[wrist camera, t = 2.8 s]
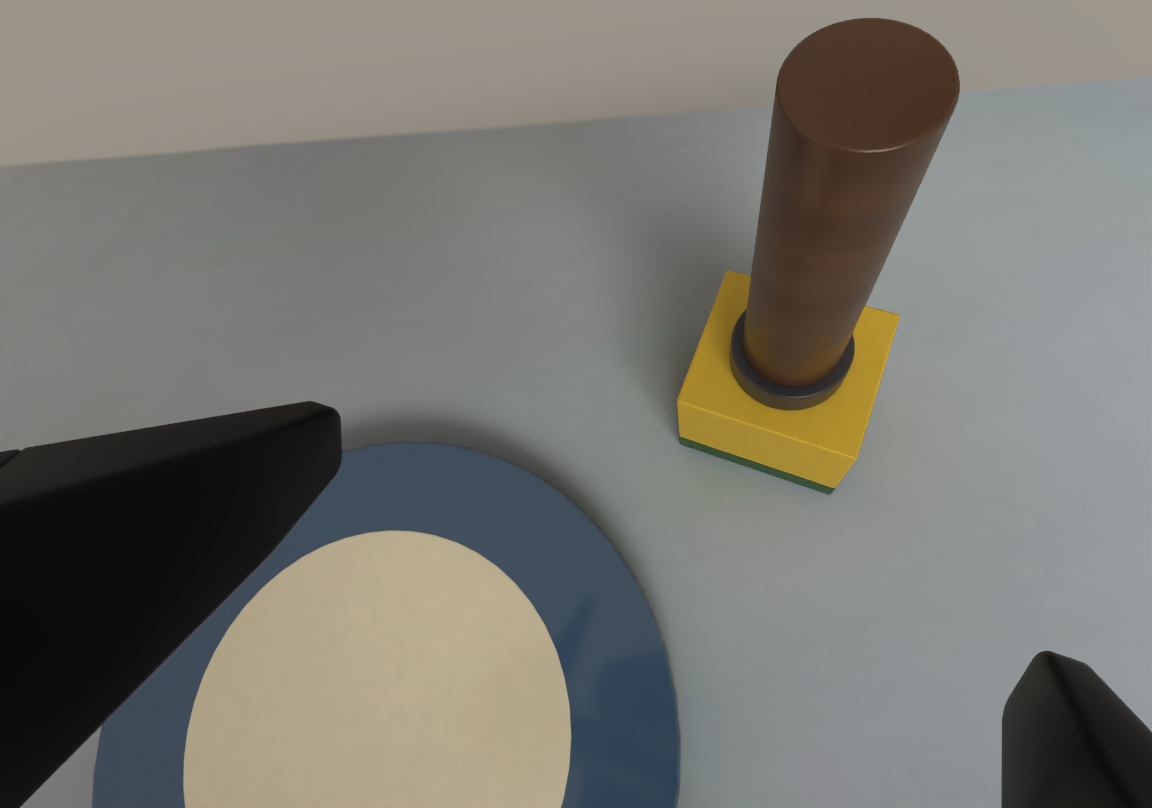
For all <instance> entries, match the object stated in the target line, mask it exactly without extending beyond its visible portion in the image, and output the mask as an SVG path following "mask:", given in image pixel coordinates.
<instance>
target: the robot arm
mask: <svg viewBox="0 0 1152 808" xmlns="http://www.w3.org/2000/svg"><path fill="white" fill-rule="evenodd" d="M341 461H342V443H341V420H340V415H339V413H338V412H337V411H336V410H335V409H334V408H332V407H329V406H326V405H323V404H320V403H317V402H313V401H306V402H300V403H294V404H288V405H282V406H276V407H270V408H264V409H258V410H252V411H246V412H240V413H234V414H228V415H222V416H216V417H210V418H204V419H198V420H192V421H186V422H179V423H173V424H167V425H161V426H155V427H149V428H143V429H137V430H131V431H125V432H119V433H113V434H107V435H101V436H95V437H89V438H83V439H77V440H71V441H65V442H59V443H53V444H46V445H40V446H34V447H28V448H25V449H23V450H22V451H20V450H17V449H16V450H9V451H3V452H0V808H20V807H21V806H22V805H23V804H24V803H25V802H26V801H27V799H28V798H29V797H30V796H31V795H32V794H33V793H34V792H35V791H36V790H37V789H38V788H39V787H40V786H41V785H42V784H43V783H44V782H45V781H46V780H47V779H48V778H49V777H50V776H51V775H52V774H53V773H54V772H55V771H56V770H57V769H58V768H59V767H60V766H61V765H62V764H63V763H64V762H65V761H66V760H67V759H68V758H69V757H70V756H71V755H72V754H73V753H74V752H75V751H76V750H77V749H78V748H79V747H80V746H81V745H82V744H83V743H84V742H85V741H86V740H87V739H88V738H89V737H90V736H91V735H92V734H93V733H94V732H95V731H96V730H97V729H98V728H99V727H100V726H101V725H102V724H103V723H104V722H105V721H106V720H107V719H108V718H109V717H110V716H111V715H112V714H113V713H114V712H115V711H116V710H117V709H118V708H119V707H120V706H121V705H122V704H123V703H124V702H125V701H126V700H127V699H128V698H129V697H130V696H131V695H132V694H133V693H134V692H135V691H136V690H137V689H138V688H139V687H140V686H141V685H142V684H143V683H144V682H145V681H146V680H147V679H148V678H149V677H150V676H151V675H152V674H153V673H154V672H155V671H156V670H157V669H158V668H159V667H160V666H161V665H162V664H163V663H164V662H165V661H166V660H167V659H168V658H169V657H170V656H171V655H172V654H173V653H174V652H175V651H176V650H177V649H178V648H179V647H180V646H181V645H182V644H183V643H184V642H185V641H186V640H187V639H188V638H189V637H190V636H191V635H192V634H193V633H194V632H195V631H196V630H197V629H198V628H199V627H200V626H201V625H202V624H203V623H204V622H205V621H206V620H207V619H208V618H209V617H210V616H211V615H212V614H213V613H214V612H215V611H216V610H217V608H218V607H219V606H220V605H221V604H222V603H223V602H224V601H225V600H226V599H227V598H228V597H229V596H230V595H231V594H232V593H233V592H234V591H235V590H236V589H237V588H238V587H239V586H240V585H241V584H242V583H243V582H244V581H245V580H246V579H247V578H248V577H249V576H250V575H251V574H252V573H253V572H254V571H255V570H256V569H257V568H258V567H259V566H260V565H261V564H262V563H263V562H264V561H265V560H266V559H267V558H268V557H269V556H270V555H271V554H272V552H273V551H274V550H275V549H276V548H277V547H278V545H279V544H280V543H281V542H282V541H283V540H284V538H285V537H286V536H287V535H288V534H289V532H290V531H291V530H292V529H293V527H294V526H295V525H296V524H297V522H298V521H299V520H300V519H301V518H302V516H303V515H304V514H305V513H306V511H307V510H308V509H309V508H310V506H311V505H312V504H313V503H314V502H315V500H316V499H317V498H318V497H319V495H320V494H321V493H322V492H323V491H324V489H325V488H326V487H327V486H328V484H329V483H330V482H331V481H332V479H333V478H334V477H335V476H336V474H337V472H338V470H339V468H340V466H341ZM1002 808H1152V732H1151V731H1150V730H1149V729H1148V727H1147V726H1146V725H1145V724H1144V723H1143V722H1142V721H1141V720H1140V719H1139V718H1138V717H1137V716H1136V715H1135V714H1134V713H1133V712H1132V711H1131V710H1130V709H1129V708H1128V706H1127V705H1126V704H1125V703H1124V702H1123V701H1122V700H1121V699H1120V698H1119V697H1118V696H1117V695H1116V694H1115V693H1114V692H1113V691H1112V690H1111V689H1110V688H1109V687H1108V685H1107V684H1106V683H1105V682H1104V681H1103V680H1102V679H1101V678H1100V677H1099V676H1098V675H1097V674H1096V673H1095V672H1094V671H1093V670H1092V669H1091V668H1090V667H1089V666H1088V665H1086V664H1085V663H1083V662H1080V661H1078V660H1075V659H1072V658H1069V657H1066V656H1063V655H1060V654H1057V653H1054V652H1051V651H1043V652H1040V653H1038V654H1037V655H1036V656H1035V657H1034V658H1033V659H1032V661H1031V663H1030V664H1029V666H1028V668H1027V669H1026V671H1025V672H1024V674H1023V676H1022V677H1021V679H1020V680H1019V682H1018V684H1017V685H1016V687H1015V688H1014V690H1013V692H1012V693H1011V695H1010V696H1009V698H1008V700H1007V702H1006V705H1005V708H1004V711H1003V717H1002Z"/></svg>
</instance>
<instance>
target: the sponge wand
mask: <svg viewBox="0 0 1152 808" xmlns="http://www.w3.org/2000/svg"><path fill="white" fill-rule="evenodd" d="M959 92H960V82H959V75H958V70H957V67H956V64H955V62H954V60H953V58H952V56H951V55H950V53H949V52H948V51H947V49H946V48H945V47H944V46H943V45H942V44H941V43H940V42H939V41H938V40H937V39H935V38H934V37H933V36H931V35H930V34H928V33H926V32H925V31H923V30H921V29H919V28H917V27H914V26H912V25H909V24H906V23H903V22H899V21H895V20H889V19H881V18H861V19H852V20H846V21H842V22H838V23H835V24H832V25H829V26H827V27H824V28H822V29H820V30H818V31H816V32H814V33H813V34H811V35H810V36H808V37H806V38H805V39H804V40H803V41H801V42H800V43H799V44H798V45H797V46H796V47H795V48H794V49H793V50H792V51H791V53H790V54H789V55H788V57H787V58H786V59H785V61H784V63H783V65H782V67H781V69H780V71H779V75H778V78H777V85H776V92H775V100H774V107H773V115H772V122H771V130H770V137H769V145H768V152H767V160H766V167H765V175H764V182H763V190H762V197H761V205H760V212H759V220H758V227H757V235H756V242H755V250H754V257H753V265H752V272H751V276H749V275H745V274H741V273H738V272H734V271H730V270H728V271H727V272H726V274H725V277H724V279H723V282H722V285H721V287H720V290H719V292H718V295H717V298H716V300H715V303H714V305H713V308H712V310H711V313H710V316H709V318H708V321H707V323H706V326H705V329H704V331H703V334H702V336H701V339H700V341H699V344H698V347H697V349H696V352H695V354H694V357H693V360H692V362H691V365H690V367H689V370H688V372H687V375H686V378H685V380H684V383H683V385H682V388H681V390H680V393H679V396H678V398H677V411H678V423H679V437H680V444H682V445H685V446H688V447H691V448H694V449H697V450H699V451H702V452H705V453H708V454H711V455H714V456H717V457H720V458H723V459H726V460H729V461H732V462H735V463H738V464H741V465H744V466H747V467H750V468H752V469H755V470H758V471H761V472H764V473H767V474H770V475H773V476H776V477H779V478H782V479H785V480H788V481H791V482H794V483H797V484H800V485H803V486H806V487H808V488H811V489H814V490H817V491H820V492H823V493H826V494H831V493H832V492H833V491H834V489H835V488H836V486H837V485H838V484H839V482H840V481H841V480H842V478H843V477H844V476H845V474H846V473H847V472H848V470H849V469H850V467H851V466H852V465H853V463H854V462H855V461H856V459H857V458H858V454H859V451H860V448H861V444H862V441H863V438H864V434H865V431H866V428H867V424H868V421H869V418H870V414H871V411H872V408H873V404H874V401H875V398H876V394H877V391H878V388H879V384H880V381H881V378H882V374H883V371H884V368H885V364H886V361H887V358H888V354H889V351H890V348H891V344H892V341H893V338H894V334H895V331H896V328H897V324H898V321H899V318H900V317H899V315H898V314H894V313H890V312H886V311H883V310H879V309H875V308H871V307H867V306H865V305H866V303H867V300H868V298H869V296H870V294H871V292H872V289H873V287H874V285H875V283H876V281H877V278H878V276H879V274H880V272H881V270H882V267H883V265H884V263H885V261H886V259H887V256H888V254H889V252H890V250H891V248H892V245H893V243H894V241H895V239H896V237H897V234H898V232H899V230H900V228H901V226H902V223H903V221H904V219H905V217H906V215H907V213H908V210H909V208H910V206H911V204H912V202H913V199H914V197H915V195H916V193H917V191H918V188H919V186H920V184H921V182H922V180H923V177H924V175H925V173H926V171H927V169H928V166H929V164H930V162H931V160H932V158H933V155H934V153H935V151H936V149H937V147H938V144H939V142H940V140H941V138H942V136H943V133H944V131H945V129H946V127H947V125H948V122H949V120H950V118H951V116H952V114H953V111H954V109H955V107H956V104H957V102H958V97H959Z"/></svg>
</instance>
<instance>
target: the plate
mask: <svg viewBox="0 0 1152 808" xmlns="http://www.w3.org/2000/svg"><path fill="white" fill-rule="evenodd" d="M680 769H681V732H680V722H679V713H678V703H677V694H676V688H675V684H674V680H673V675H672V671H671V667H670V662H669V658H668V653H667V649H666V646H665V644H664V641H663V638H662V635H661V633H660V630H659V627H658V624H657V622H656V619H655V616H654V613H653V611H652V609H651V607H650V605H649V603H648V601H647V599H646V597H645V595H644V593H643V591H642V589H641V587H640V585H639V583H638V581H637V579H636V577H635V575H634V574H633V572H632V571H631V569H630V568H629V567H628V565H627V564H626V562H625V561H624V559H623V558H622V556H621V555H620V553H619V552H618V551H617V549H616V548H615V546H614V545H613V543H612V542H611V540H610V539H609V538H608V537H607V536H606V535H605V534H604V533H603V531H602V530H601V529H600V528H599V527H598V526H597V525H596V524H595V523H594V522H593V520H592V519H591V518H590V517H589V516H588V515H587V514H586V513H585V512H584V511H583V510H582V509H581V508H579V507H578V506H577V505H576V504H575V503H573V502H572V501H571V500H570V499H569V498H568V497H566V496H565V495H564V494H563V493H562V492H560V491H559V490H558V489H556V488H555V487H553V486H552V485H550V484H549V483H547V482H545V481H544V480H542V479H541V478H539V477H538V476H536V475H534V474H533V473H531V472H530V471H528V470H526V469H523V468H521V467H519V466H517V465H515V464H512V463H510V462H508V461H506V460H504V459H501V458H499V457H497V456H493V455H490V454H486V453H483V452H480V451H476V450H473V449H470V448H466V447H460V446H453V445H447V444H440V443H434V442H396V443H387V444H378V445H369V446H364V447H360V448H356V449H352V450H348V451H344V452H342V461H341V466H340V468H339V470H338V472H337V474H336V476H335V477H334V478H333V479H332V481H331V482H330V483H329V484H328V486H327V487H326V488H325V489H324V491H323V492H322V493H321V494H320V495H319V497H318V498H317V499H316V500H315V502H314V503H313V504H312V505H311V506H310V508H309V509H308V510H307V511H306V513H305V514H304V515H303V516H302V518H301V519H300V520H299V521H298V522H297V524H296V525H295V526H294V527H293V529H292V530H291V531H290V532H289V534H288V535H287V536H286V537H285V538H284V540H283V541H282V542H281V543H280V544H279V545H278V547H277V548H276V549H275V550H274V551H273V552H272V554H271V555H270V556H269V557H268V558H267V559H266V560H265V561H264V562H263V563H262V564H261V565H260V566H259V567H258V568H257V569H256V570H255V571H254V572H253V573H252V574H251V575H250V576H249V577H248V578H247V579H246V580H245V581H244V582H243V583H242V584H241V585H240V586H239V587H238V588H237V589H236V590H235V591H234V592H233V593H232V594H231V595H230V596H229V597H228V598H227V599H226V600H225V601H224V602H223V603H222V604H221V605H220V606H219V607H218V608H217V610H216V611H215V612H214V613H213V614H212V615H211V616H210V617H209V618H208V619H207V620H206V621H205V622H204V623H203V624H202V625H201V626H200V627H199V628H198V629H197V630H196V631H195V632H194V633H193V634H192V635H191V636H190V637H189V638H188V639H187V640H186V641H185V642H184V643H183V644H182V645H181V646H180V647H179V648H178V649H177V650H176V651H175V652H174V653H173V654H172V655H171V656H170V657H169V658H168V659H167V660H166V661H165V662H164V663H163V664H162V665H161V666H160V667H159V668H158V669H157V670H156V671H155V672H154V673H153V674H152V675H151V676H150V677H149V678H148V679H147V680H146V681H145V682H144V683H143V684H142V685H141V686H140V687H139V688H138V689H137V690H136V691H135V692H134V693H133V694H132V695H131V696H130V697H129V698H128V699H127V700H126V701H125V702H124V703H123V704H122V705H121V706H120V707H119V708H118V709H117V710H116V711H115V712H114V713H113V714H112V715H111V716H110V717H109V718H108V719H107V720H106V721H105V722H104V723H103V725H102V728H101V734H100V740H99V746H98V752H97V758H96V763H95V769H94V783H93V799H92V808H677V804H678V796H679V789H680Z"/></svg>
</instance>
